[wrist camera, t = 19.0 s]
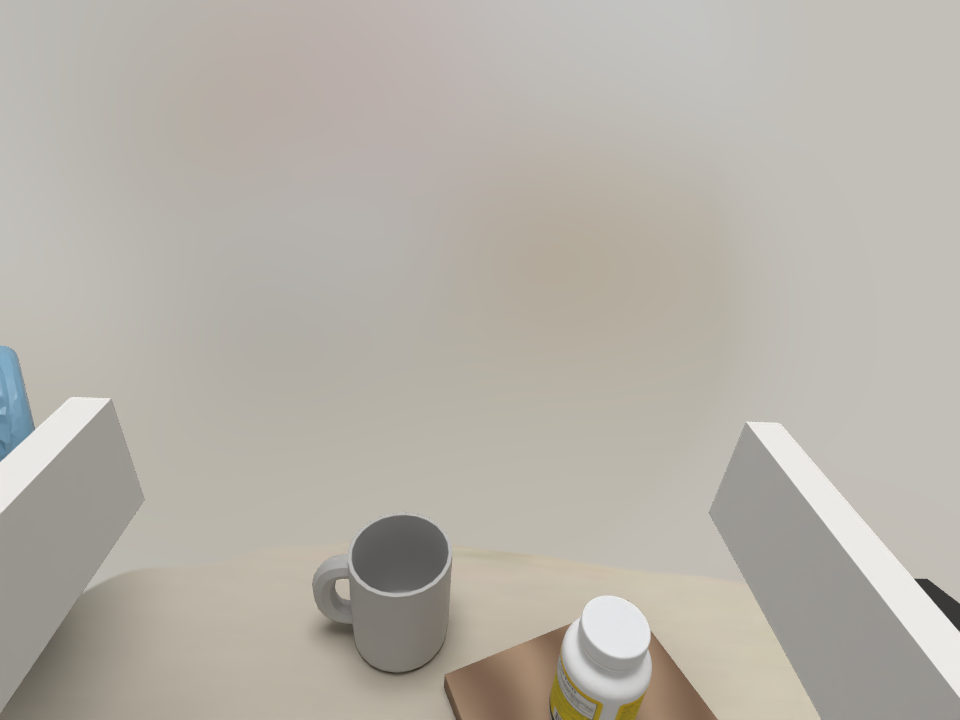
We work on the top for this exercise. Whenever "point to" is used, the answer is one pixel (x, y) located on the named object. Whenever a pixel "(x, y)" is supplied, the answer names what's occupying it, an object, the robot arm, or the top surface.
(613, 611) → the supplement bottle
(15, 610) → the robot arm
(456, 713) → the walnut board
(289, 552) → the top surface
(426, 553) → the cup
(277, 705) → the top surface
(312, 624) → the top surface
